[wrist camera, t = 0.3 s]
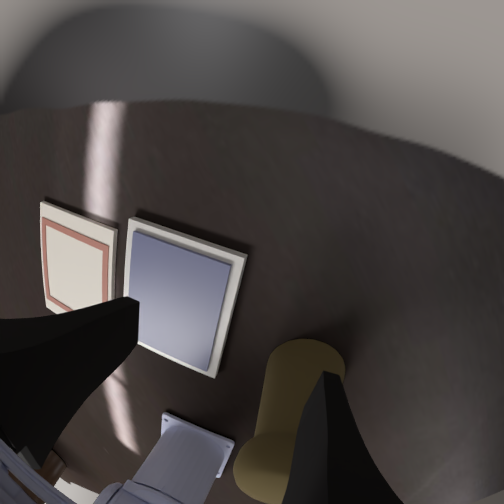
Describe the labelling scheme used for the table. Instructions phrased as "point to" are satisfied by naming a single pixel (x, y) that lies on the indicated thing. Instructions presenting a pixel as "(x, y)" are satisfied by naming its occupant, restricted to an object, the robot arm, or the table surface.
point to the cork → (282, 416)
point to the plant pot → (44, 474)
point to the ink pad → (182, 293)
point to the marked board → (76, 259)
